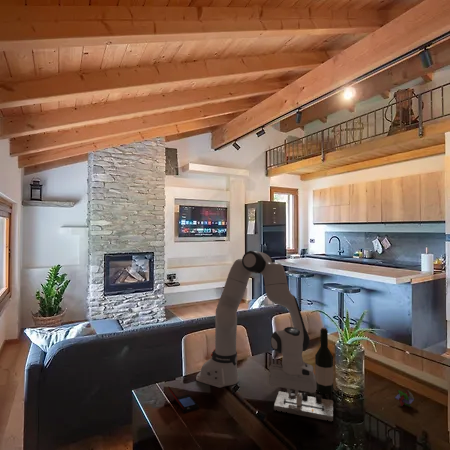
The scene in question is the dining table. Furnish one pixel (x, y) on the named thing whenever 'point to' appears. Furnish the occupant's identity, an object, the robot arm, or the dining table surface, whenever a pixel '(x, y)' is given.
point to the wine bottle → (324, 365)
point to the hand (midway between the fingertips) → (292, 398)
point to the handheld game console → (185, 402)
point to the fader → (299, 399)
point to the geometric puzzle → (405, 398)
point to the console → (305, 406)
